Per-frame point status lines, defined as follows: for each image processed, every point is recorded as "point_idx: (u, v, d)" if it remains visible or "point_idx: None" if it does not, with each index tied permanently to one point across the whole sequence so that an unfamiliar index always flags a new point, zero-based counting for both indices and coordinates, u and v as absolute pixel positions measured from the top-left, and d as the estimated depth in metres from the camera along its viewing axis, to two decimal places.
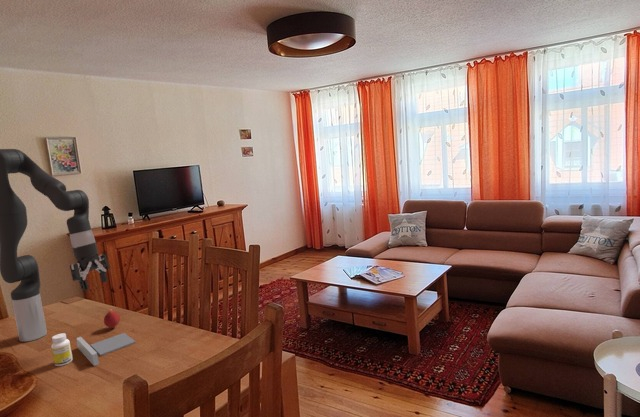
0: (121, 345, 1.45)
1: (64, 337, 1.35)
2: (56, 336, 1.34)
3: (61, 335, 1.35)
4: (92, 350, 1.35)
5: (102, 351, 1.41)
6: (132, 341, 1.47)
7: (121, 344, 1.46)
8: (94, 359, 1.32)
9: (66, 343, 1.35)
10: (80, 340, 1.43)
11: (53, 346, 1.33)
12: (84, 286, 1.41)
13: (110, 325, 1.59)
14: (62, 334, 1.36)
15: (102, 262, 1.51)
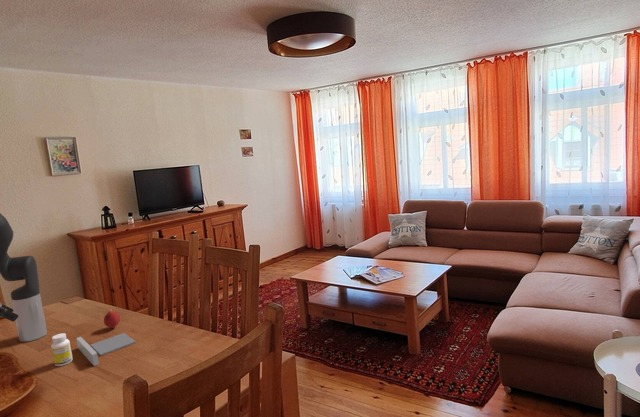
0: (121, 345, 1.45)
1: (64, 337, 1.35)
2: (56, 336, 1.34)
3: (61, 335, 1.35)
4: (92, 350, 1.35)
5: (102, 351, 1.41)
6: (132, 341, 1.47)
7: (121, 344, 1.46)
8: (94, 359, 1.32)
9: (66, 343, 1.35)
10: (80, 340, 1.43)
11: (53, 346, 1.33)
12: None
13: (110, 325, 1.59)
14: (62, 334, 1.36)
15: None
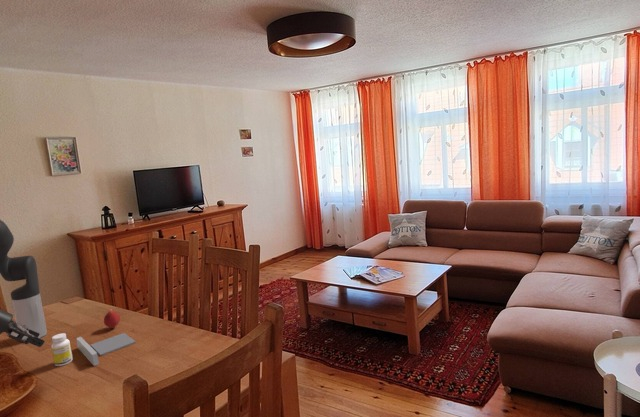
0: (121, 345, 1.45)
1: (64, 337, 1.35)
2: (56, 336, 1.34)
3: (61, 335, 1.35)
4: (92, 350, 1.35)
5: (102, 351, 1.41)
6: (132, 341, 1.47)
7: (121, 344, 1.46)
8: (94, 359, 1.32)
9: (66, 343, 1.35)
10: (80, 340, 1.43)
11: (53, 346, 1.33)
12: None
13: (110, 325, 1.59)
14: (62, 334, 1.36)
15: None
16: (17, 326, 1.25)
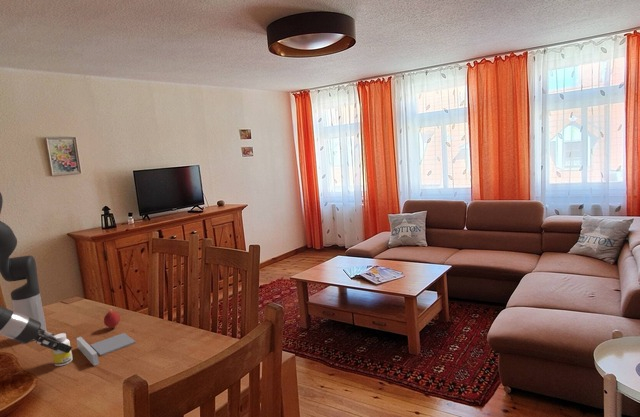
0: (121, 345, 1.45)
1: (64, 337, 1.35)
2: (56, 336, 1.34)
3: (61, 335, 1.35)
4: (92, 350, 1.35)
5: (102, 351, 1.41)
6: (132, 341, 1.47)
7: (121, 344, 1.46)
8: (94, 359, 1.32)
9: (66, 343, 1.35)
10: (80, 340, 1.43)
11: None
12: None
13: (110, 325, 1.59)
14: (62, 334, 1.36)
15: None
16: (45, 334, 1.31)
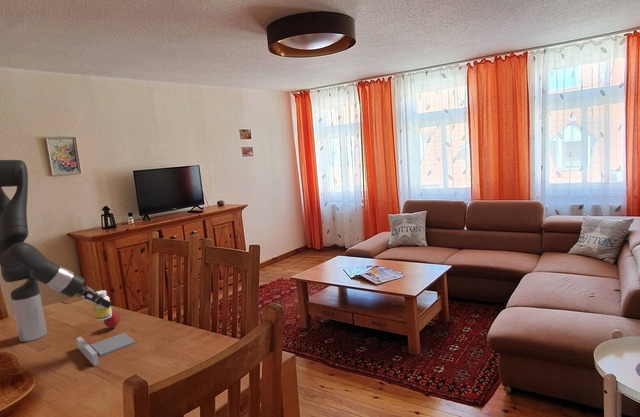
0: (121, 345, 1.45)
1: (105, 293, 1.43)
2: (97, 292, 1.43)
3: (102, 291, 1.43)
4: (92, 350, 1.35)
5: (102, 351, 1.41)
6: (132, 341, 1.47)
7: (121, 344, 1.46)
8: (94, 359, 1.32)
9: (106, 299, 1.43)
10: (80, 340, 1.43)
11: None
12: None
13: (110, 325, 1.59)
14: (103, 291, 1.44)
15: None
16: (88, 289, 1.39)
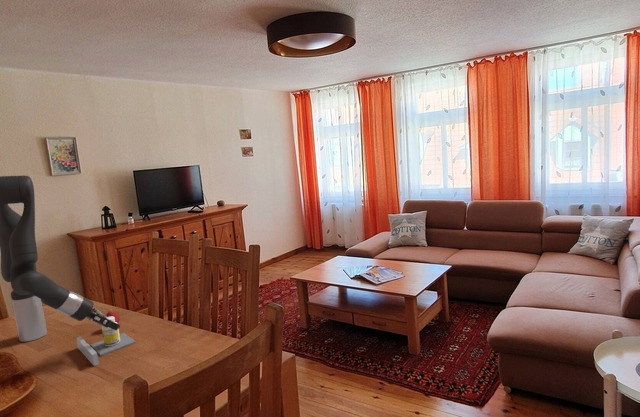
0: (121, 345, 1.45)
1: (113, 319, 1.46)
2: None
3: (110, 318, 1.46)
4: (92, 350, 1.35)
5: (102, 351, 1.41)
6: (132, 341, 1.47)
7: (121, 344, 1.46)
8: (94, 359, 1.32)
9: None
10: (80, 340, 1.43)
11: (104, 328, 1.44)
12: None
13: None
14: (111, 317, 1.47)
15: None
16: (97, 312, 1.41)
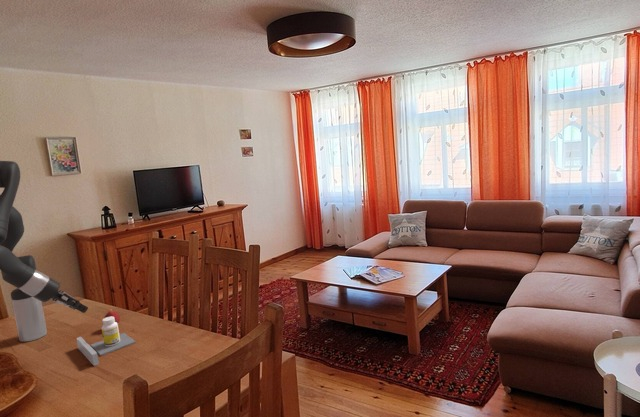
0: (121, 345, 1.45)
1: (113, 320, 1.46)
2: (105, 319, 1.45)
3: (110, 318, 1.46)
4: (92, 350, 1.35)
5: (102, 351, 1.41)
6: (132, 341, 1.47)
7: (121, 344, 1.46)
8: (94, 359, 1.32)
9: (115, 325, 1.45)
10: (80, 340, 1.43)
11: (104, 328, 1.44)
12: None
13: None
14: (111, 317, 1.46)
15: None
16: (64, 293, 1.34)
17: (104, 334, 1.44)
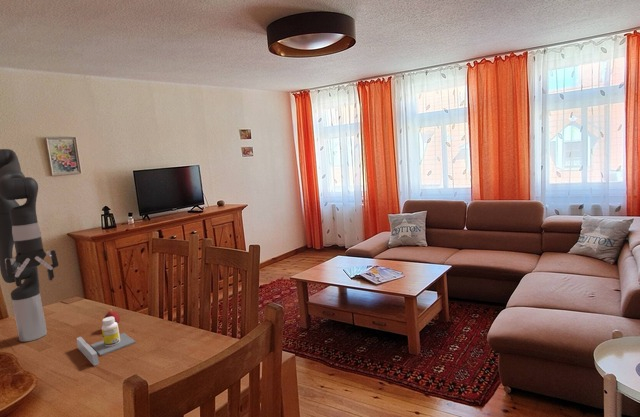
0: (121, 345, 1.45)
1: (113, 320, 1.46)
2: (105, 319, 1.45)
3: (110, 318, 1.46)
4: (92, 350, 1.35)
5: (102, 351, 1.41)
6: (132, 341, 1.47)
7: (121, 344, 1.46)
8: (94, 359, 1.32)
9: (115, 325, 1.45)
10: (80, 340, 1.43)
11: (104, 328, 1.44)
12: (17, 283, 1.30)
13: None
14: (111, 317, 1.46)
15: (51, 258, 1.38)
16: None
17: (104, 334, 1.44)
